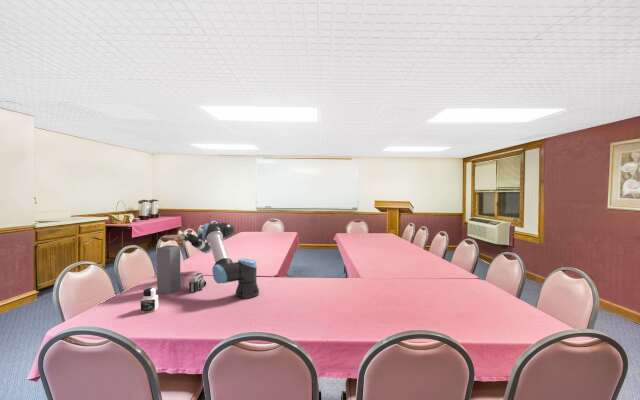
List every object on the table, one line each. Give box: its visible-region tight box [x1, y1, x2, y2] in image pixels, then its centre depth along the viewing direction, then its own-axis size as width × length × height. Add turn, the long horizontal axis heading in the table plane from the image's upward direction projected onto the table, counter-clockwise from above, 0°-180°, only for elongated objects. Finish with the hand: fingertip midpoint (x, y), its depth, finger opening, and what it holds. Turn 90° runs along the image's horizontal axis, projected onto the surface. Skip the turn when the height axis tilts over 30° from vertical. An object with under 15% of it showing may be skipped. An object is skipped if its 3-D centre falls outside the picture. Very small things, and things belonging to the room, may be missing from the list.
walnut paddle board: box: [159, 234, 187, 242], centre depth 204 cm, size 21×11×2 cm, turn 169°
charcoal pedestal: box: [156, 244, 181, 295], centre depth 194 cm, size 10×10×30 cm
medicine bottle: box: [140, 287, 159, 314], centre depth 163 cm, size 7×7×12 cm
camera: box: [188, 272, 207, 294], centre depth 198 cm, size 14×8×10 cm, turn 1°
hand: (181, 232), depth 208 cm, fingers closed on walnut paddle board, 3 cm apart
